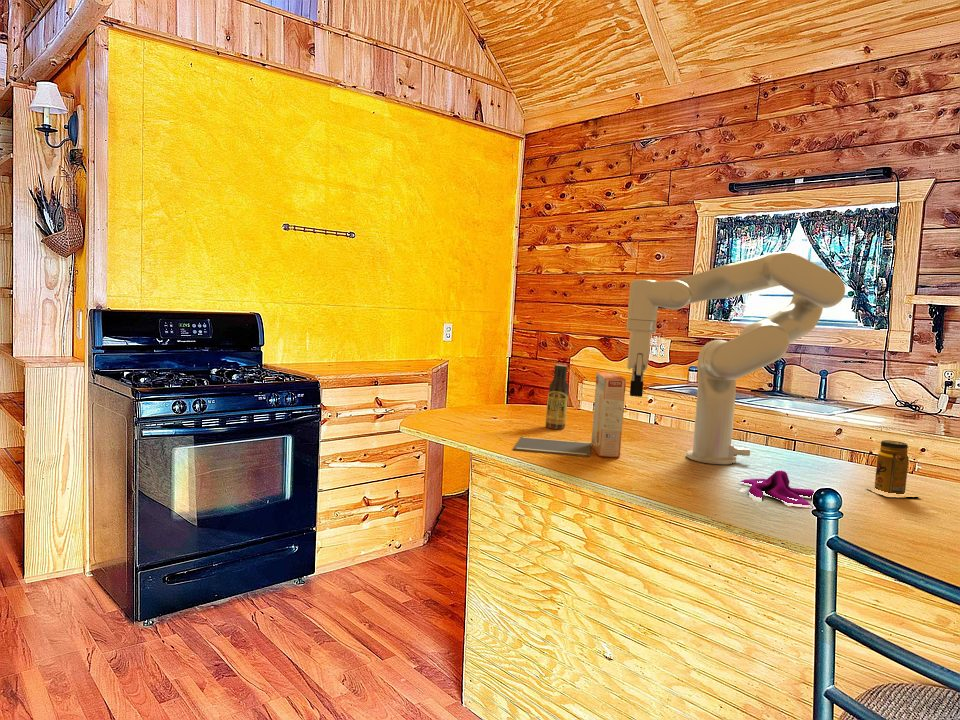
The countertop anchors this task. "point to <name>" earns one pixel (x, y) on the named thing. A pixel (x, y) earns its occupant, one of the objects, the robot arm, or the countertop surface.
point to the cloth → (779, 488)
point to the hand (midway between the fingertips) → (635, 395)
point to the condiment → (892, 467)
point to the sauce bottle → (557, 399)
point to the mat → (553, 446)
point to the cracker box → (608, 414)
